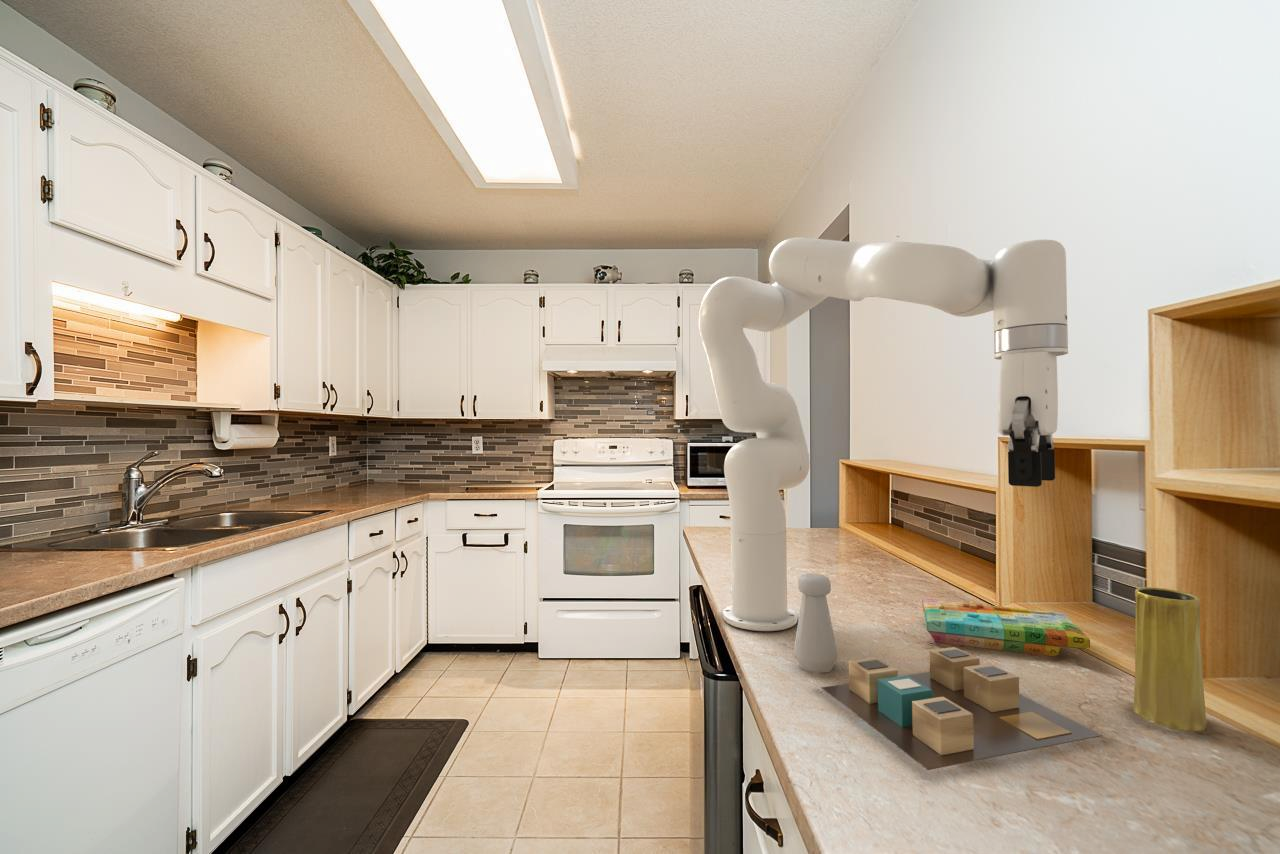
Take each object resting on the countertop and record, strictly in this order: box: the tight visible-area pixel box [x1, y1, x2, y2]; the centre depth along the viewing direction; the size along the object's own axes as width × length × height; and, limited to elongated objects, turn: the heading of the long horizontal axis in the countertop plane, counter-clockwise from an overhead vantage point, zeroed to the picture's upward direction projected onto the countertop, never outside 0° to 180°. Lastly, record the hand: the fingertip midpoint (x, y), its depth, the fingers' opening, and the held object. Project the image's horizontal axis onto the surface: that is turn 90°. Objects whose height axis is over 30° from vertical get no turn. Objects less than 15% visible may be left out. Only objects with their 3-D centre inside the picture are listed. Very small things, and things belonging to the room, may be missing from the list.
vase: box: [1132, 586, 1208, 732], centre depth 63 cm, size 6×6×14 cm
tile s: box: [878, 674, 933, 728], centre depth 64 cm, size 4×4×4 cm
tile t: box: [963, 662, 1020, 712], centre depth 67 cm, size 4×4×4 cm
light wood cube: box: [848, 656, 899, 704], centre depth 69 cm, size 4×4×4 cm
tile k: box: [912, 697, 974, 755], centre depth 59 cm, size 4×4×4 cm
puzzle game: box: [921, 598, 1091, 657], centre depth 87 cm, size 12×5×20 cm
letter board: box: [820, 671, 1103, 771], centre depth 65 cm, size 18×22×1 cm
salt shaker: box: [793, 572, 839, 674], centre depth 78 cm, size 6×6×13 cm
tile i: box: [928, 646, 981, 691], centre depth 72 cm, size 4×4×4 cm
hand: (1032, 482), depth 70 cm, fingers open, 9 cm apart
